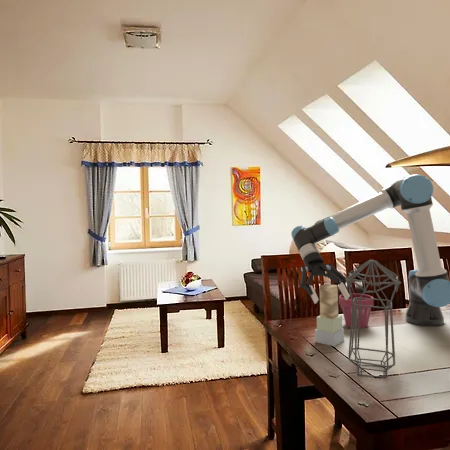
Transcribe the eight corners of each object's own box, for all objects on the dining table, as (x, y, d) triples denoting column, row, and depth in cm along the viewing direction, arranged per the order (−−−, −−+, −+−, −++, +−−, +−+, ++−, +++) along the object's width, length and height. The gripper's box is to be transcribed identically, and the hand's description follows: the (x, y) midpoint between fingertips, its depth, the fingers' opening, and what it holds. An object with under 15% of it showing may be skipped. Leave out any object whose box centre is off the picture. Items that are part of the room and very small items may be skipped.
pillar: (338, 315, 146) (337, 285, 146) (332, 318, 143) (331, 287, 142) (326, 313, 150) (325, 283, 149) (320, 316, 146) (319, 286, 146)
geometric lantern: (347, 359, 128) (347, 256, 127) (398, 366, 122) (399, 258, 121) (343, 378, 113) (343, 261, 112) (401, 386, 107) (401, 264, 106)
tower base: (344, 341, 147) (343, 328, 147) (334, 346, 141) (334, 333, 141) (325, 337, 152) (324, 324, 152) (315, 342, 146) (314, 329, 146)
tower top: (342, 328, 146) (341, 315, 146) (333, 333, 141) (333, 319, 141) (325, 325, 151) (325, 313, 151) (316, 329, 146) (316, 316, 146)
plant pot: (374, 322, 170) (373, 293, 170) (374, 331, 157) (373, 300, 157) (341, 319, 175) (340, 292, 175) (338, 328, 162) (337, 299, 162)
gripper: (333, 260, 164) (356, 302, 150) (281, 264, 157) (299, 308, 143) (340, 249, 159) (364, 291, 145) (286, 253, 152) (306, 297, 138)
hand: (332, 299), depth 144 cm, fingers open, 13 cm apart
